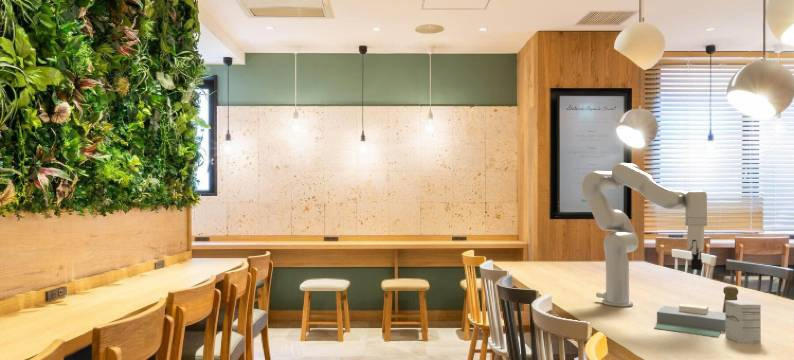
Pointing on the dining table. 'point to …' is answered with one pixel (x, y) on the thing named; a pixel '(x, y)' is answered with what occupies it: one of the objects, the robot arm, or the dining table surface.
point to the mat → (688, 329)
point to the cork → (729, 294)
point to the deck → (692, 318)
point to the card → (693, 308)
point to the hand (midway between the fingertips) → (696, 268)
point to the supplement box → (743, 321)
